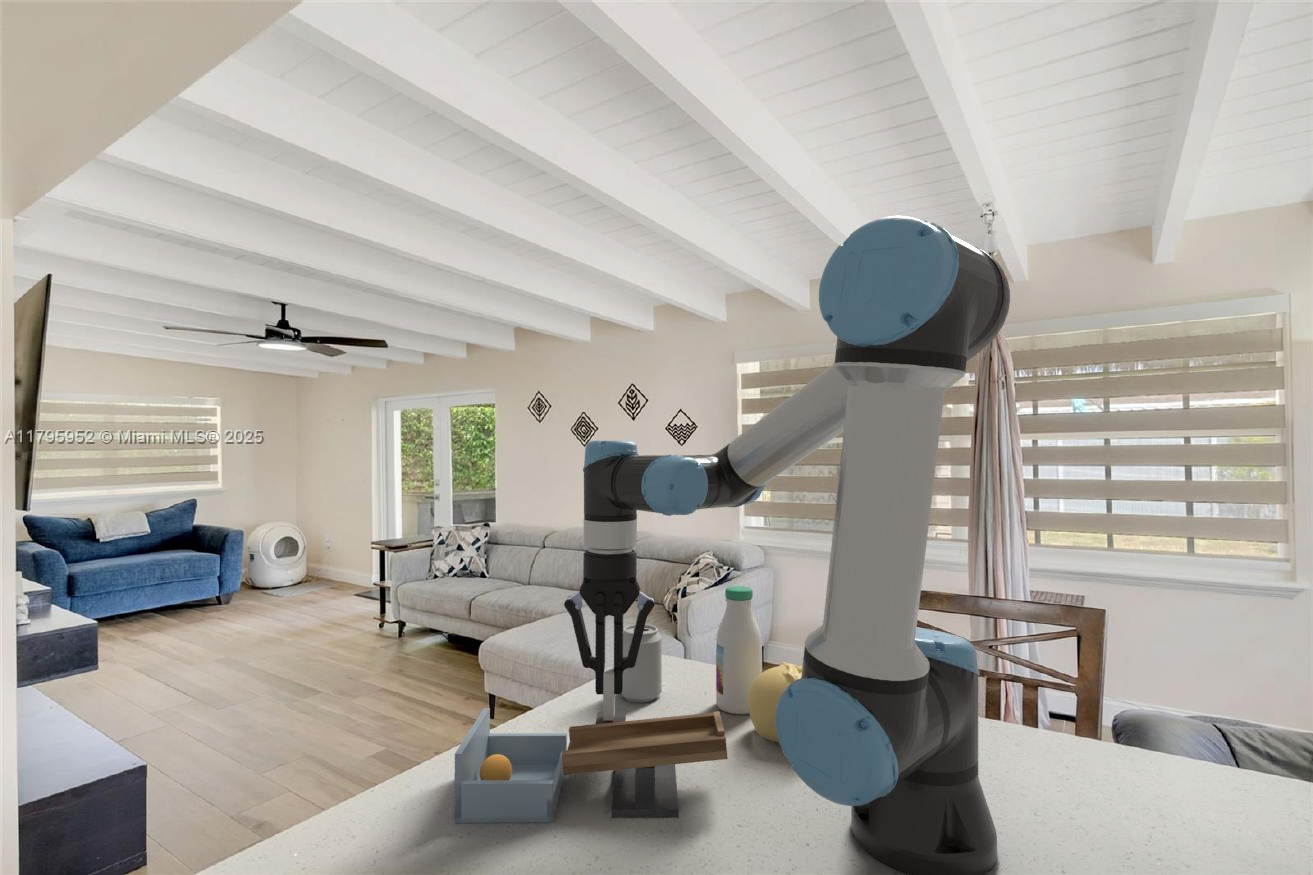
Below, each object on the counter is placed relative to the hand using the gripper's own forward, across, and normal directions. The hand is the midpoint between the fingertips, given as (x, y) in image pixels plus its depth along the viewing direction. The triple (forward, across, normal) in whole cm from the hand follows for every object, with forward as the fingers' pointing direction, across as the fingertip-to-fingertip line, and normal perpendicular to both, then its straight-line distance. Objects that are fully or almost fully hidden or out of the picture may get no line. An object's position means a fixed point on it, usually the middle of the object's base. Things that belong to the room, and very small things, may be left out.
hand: (609, 716), depth 93 cm
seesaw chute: (+1, -5, +5) cm, 7 cm away
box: (+6, +11, +9) cm, 16 cm away
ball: (+3, +14, +9) cm, 17 cm away
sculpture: (+6, -27, -7) cm, 28 cm away
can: (+6, -4, -23) cm, 24 cm away
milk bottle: (+6, -21, -18) cm, 28 cm away
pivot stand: (+6, -5, +9) cm, 12 cm away
